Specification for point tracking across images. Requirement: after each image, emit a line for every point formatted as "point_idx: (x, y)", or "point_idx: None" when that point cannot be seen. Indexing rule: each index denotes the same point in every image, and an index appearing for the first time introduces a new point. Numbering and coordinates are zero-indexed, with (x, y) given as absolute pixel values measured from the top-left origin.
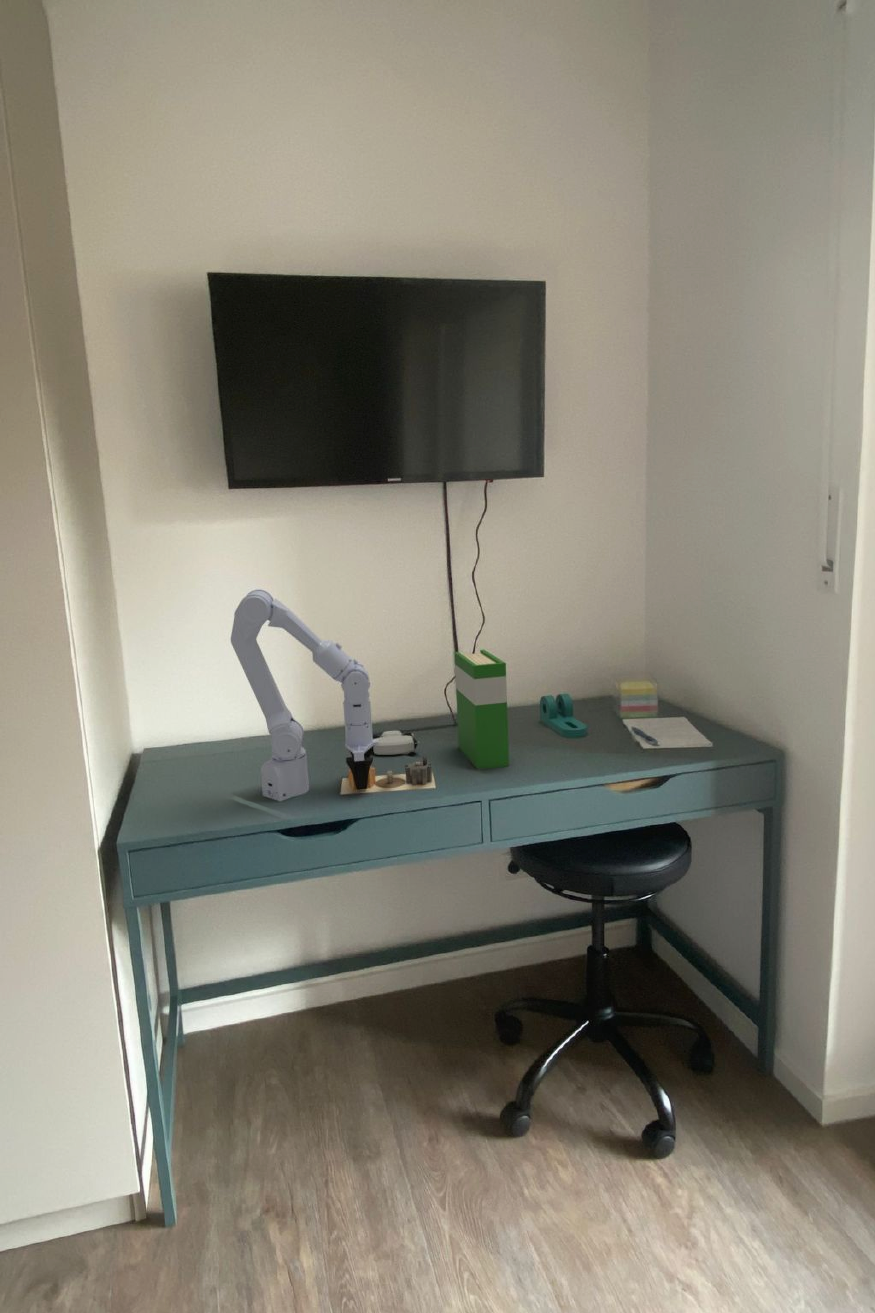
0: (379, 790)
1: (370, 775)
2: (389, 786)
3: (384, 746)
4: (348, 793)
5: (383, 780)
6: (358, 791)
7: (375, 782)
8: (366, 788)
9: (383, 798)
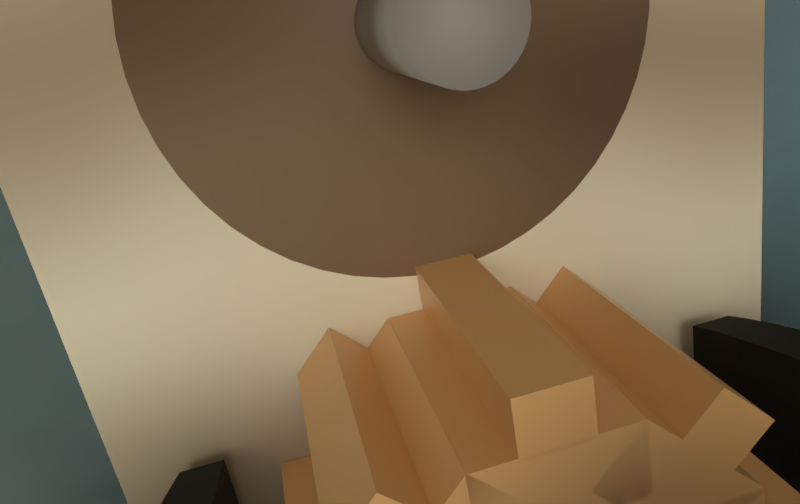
0: (724, 133)
1: (703, 368)
2: (581, 3)
3: None
4: None
5: (299, 168)
6: None
7: (476, 264)
8: (741, 319)
9: (792, 47)
